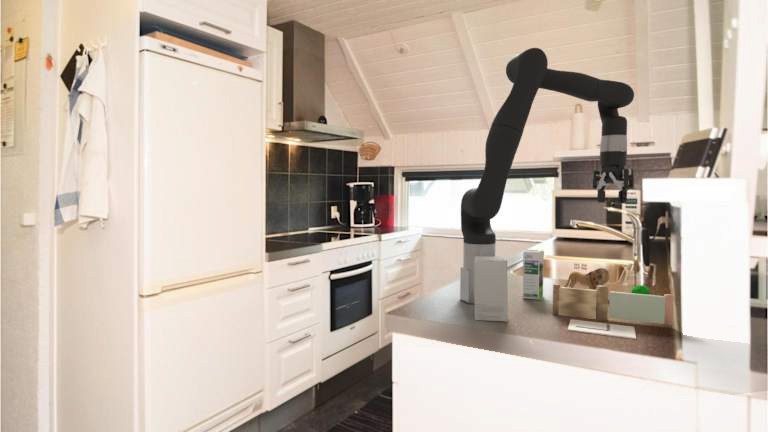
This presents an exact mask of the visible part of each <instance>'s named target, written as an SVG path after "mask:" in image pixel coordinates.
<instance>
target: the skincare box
mask: <svg viewBox="0 0 768 432" xmlns="http://www.w3.org/2000/svg"><path fill="white" fill-rule="evenodd" d="M508 282H509V281H508V258H507V256H495V257H481V256H476V257H475V260H474V287H475V304H474V321H487V322H489V321H491V322H504V323H505V322H506V323H507V322H508V316H509V315H508V313H509V311H508V308H509V304H508V303H509V302H508V301H509V300H508V296H509V295H508V293H509V292H508Z"/></svg>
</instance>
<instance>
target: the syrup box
mask: <svg viewBox="0 0 768 432" xmlns="http://www.w3.org/2000/svg"><path fill="white" fill-rule="evenodd" d="M522 257H523V258H522V259H523V260H522V263H523V264H522V266H523V268H522V270H523V271H522V299H529V300H538V301H543V297H544V273H545V272H544V267H545V266H544V265H545V264H544V262H545V250H543V249H541V250H539V249H524V250H523V255H522Z"/></svg>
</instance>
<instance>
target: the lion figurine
mask: <svg viewBox="0 0 768 432" xmlns="http://www.w3.org/2000/svg"><path fill="white" fill-rule="evenodd" d="M609 272H610V271H609V270H608V269H606V268H605V267H599V268H597V269H594V270H592V271H589V272H588V273H586V274H585V273H582V272H579V271H572V272H571V273H570V274H569V277H568V279H567V283H566V284H565V285H564V286H563V287H569V288H575V285H577V284H578V283H579V284H580V285H581V286H583V287H588V288H589V289H591V290H597V286H598V285H606V284H608V282H609V280H610V274H609Z"/></svg>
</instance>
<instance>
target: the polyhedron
mask: <svg viewBox="0 0 768 432" xmlns="http://www.w3.org/2000/svg"><path fill="white" fill-rule="evenodd" d="M630 293H635V294H646V295H651V291H650V289H649V288H648V287H646V286H645V285H640V284H639V285H635V286H633V287H632V289H631V292H630Z"/></svg>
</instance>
